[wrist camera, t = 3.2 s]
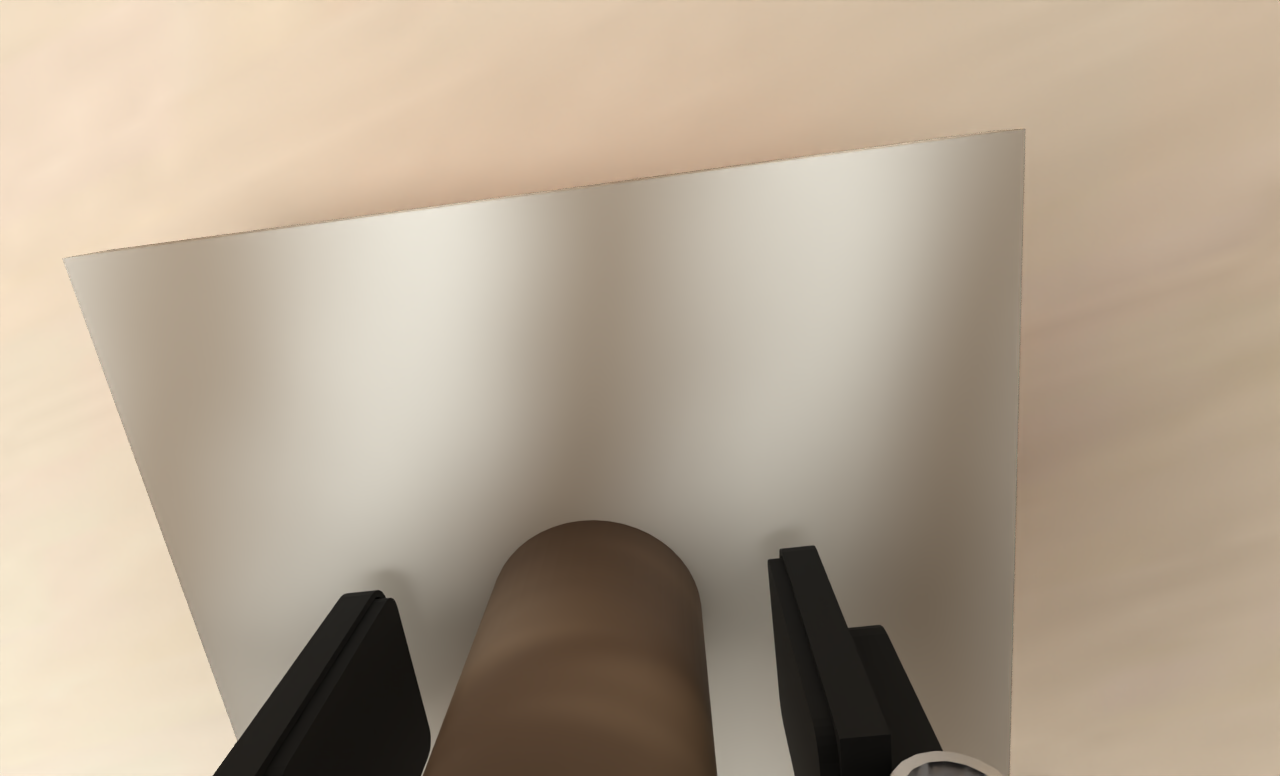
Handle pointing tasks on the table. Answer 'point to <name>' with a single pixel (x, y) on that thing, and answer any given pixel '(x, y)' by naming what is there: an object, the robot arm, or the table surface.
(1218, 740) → the table surface
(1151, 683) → the table surface
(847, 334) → the lid
